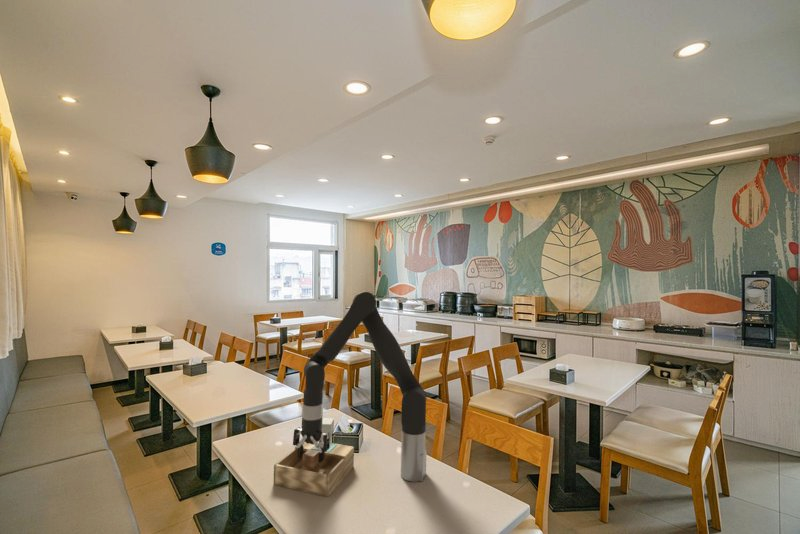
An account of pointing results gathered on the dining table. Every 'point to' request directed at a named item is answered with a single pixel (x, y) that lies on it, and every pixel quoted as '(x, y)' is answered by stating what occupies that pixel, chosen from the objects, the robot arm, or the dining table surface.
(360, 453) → the dining table surface
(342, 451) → the crate
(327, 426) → the supplement box
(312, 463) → the block
